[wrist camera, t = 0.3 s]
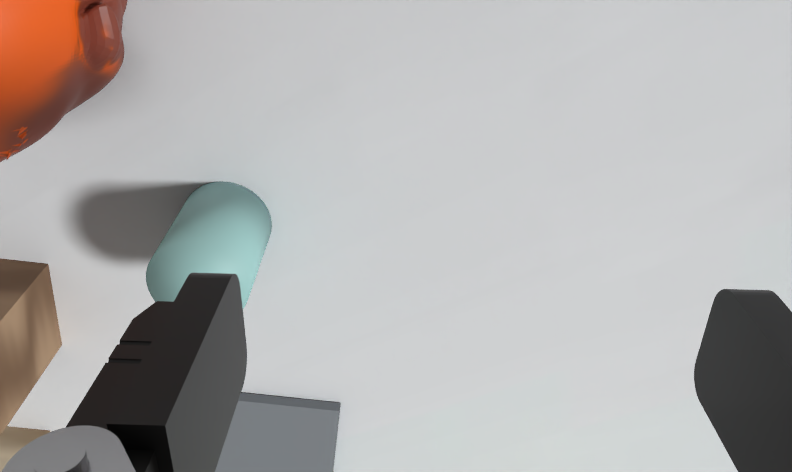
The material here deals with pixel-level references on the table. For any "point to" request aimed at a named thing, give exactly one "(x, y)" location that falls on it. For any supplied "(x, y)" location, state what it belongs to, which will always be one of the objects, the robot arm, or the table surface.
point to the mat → (280, 435)
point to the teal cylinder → (212, 240)
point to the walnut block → (24, 331)
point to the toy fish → (53, 62)
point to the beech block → (16, 441)
